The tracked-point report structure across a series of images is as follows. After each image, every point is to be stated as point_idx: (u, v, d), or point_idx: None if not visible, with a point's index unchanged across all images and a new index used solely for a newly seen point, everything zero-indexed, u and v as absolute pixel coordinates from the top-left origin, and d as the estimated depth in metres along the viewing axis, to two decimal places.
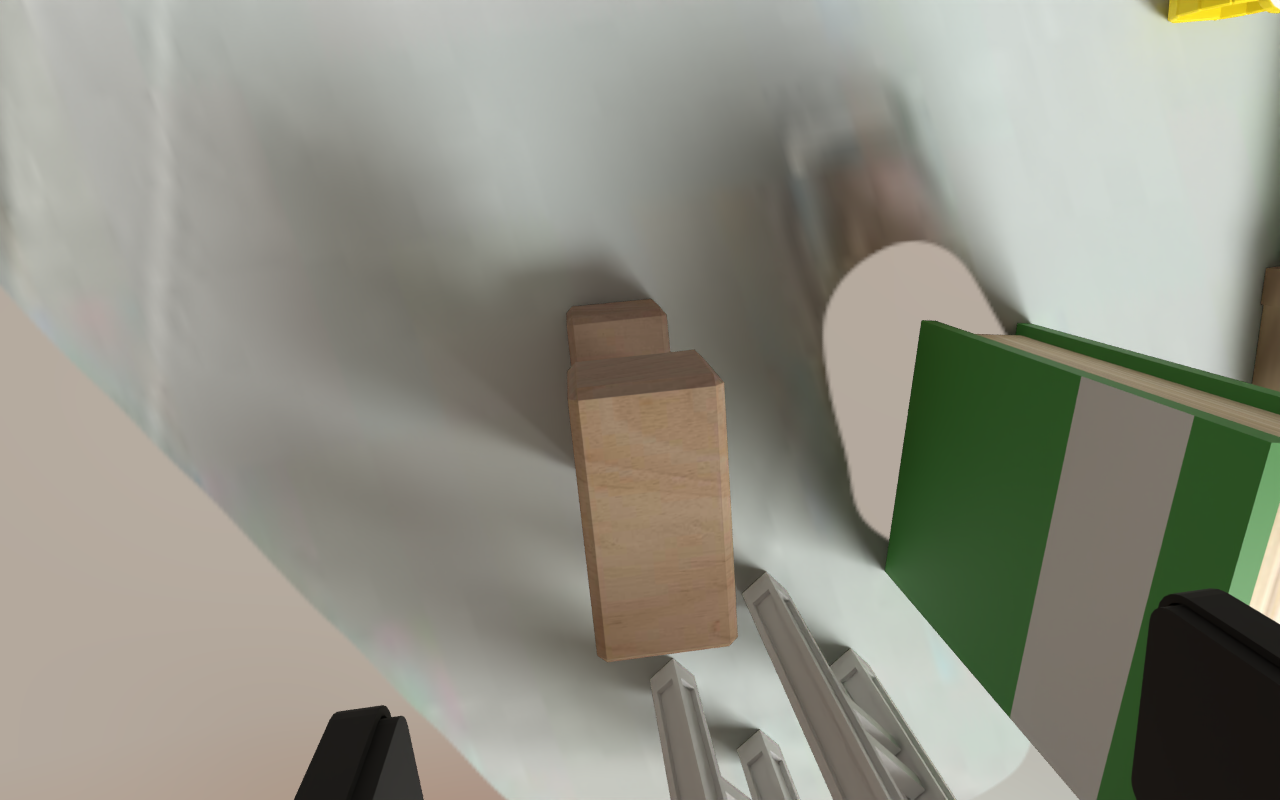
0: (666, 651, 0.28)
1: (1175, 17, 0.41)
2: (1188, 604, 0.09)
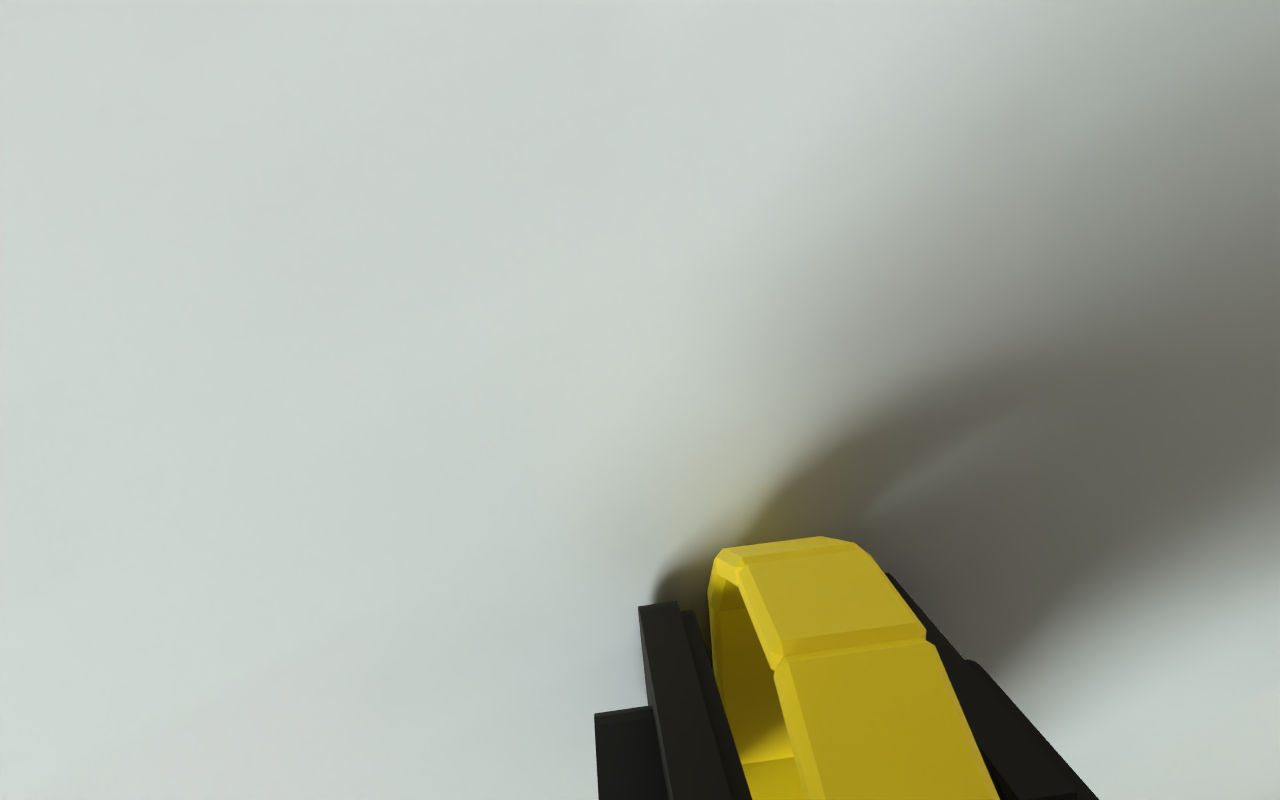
0: None
1: (732, 563, 0.08)
2: None
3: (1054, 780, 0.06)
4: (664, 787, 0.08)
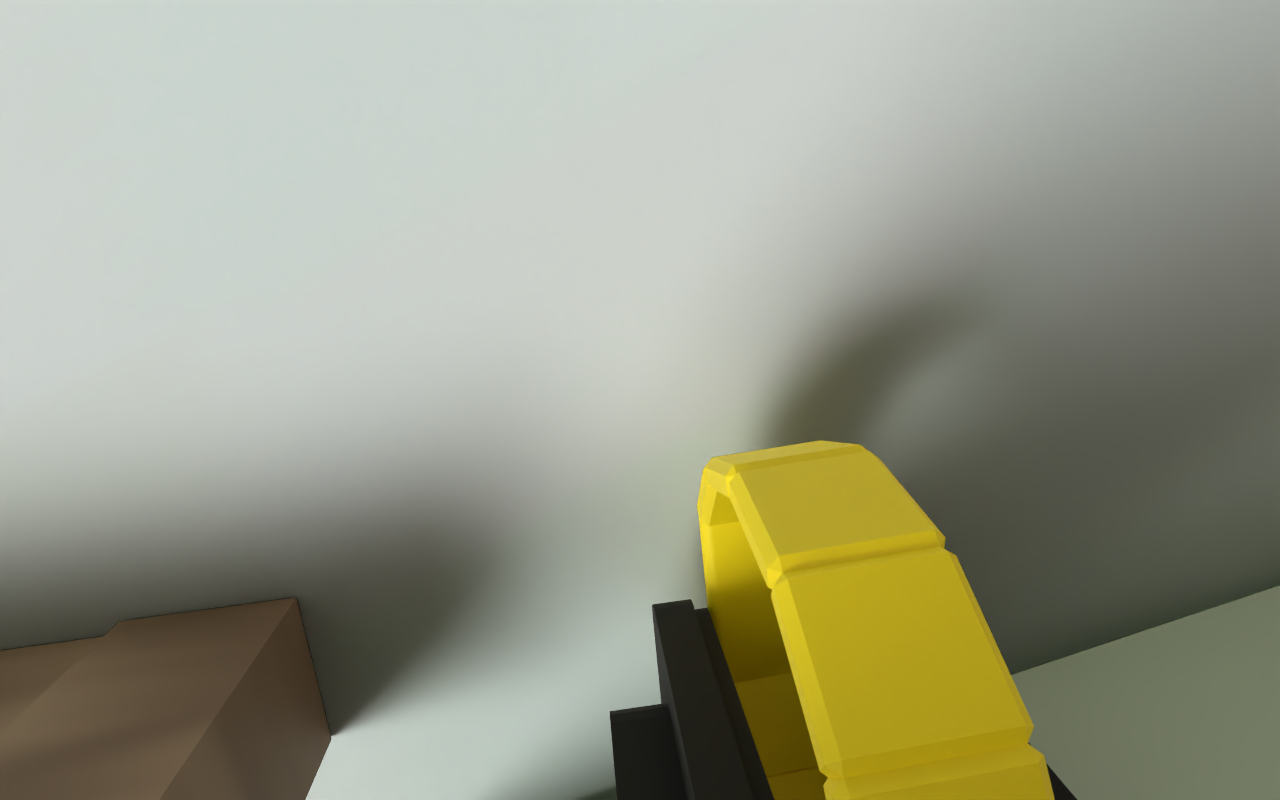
0: None
1: (722, 472, 0.07)
2: None
3: None
4: (682, 785, 0.08)
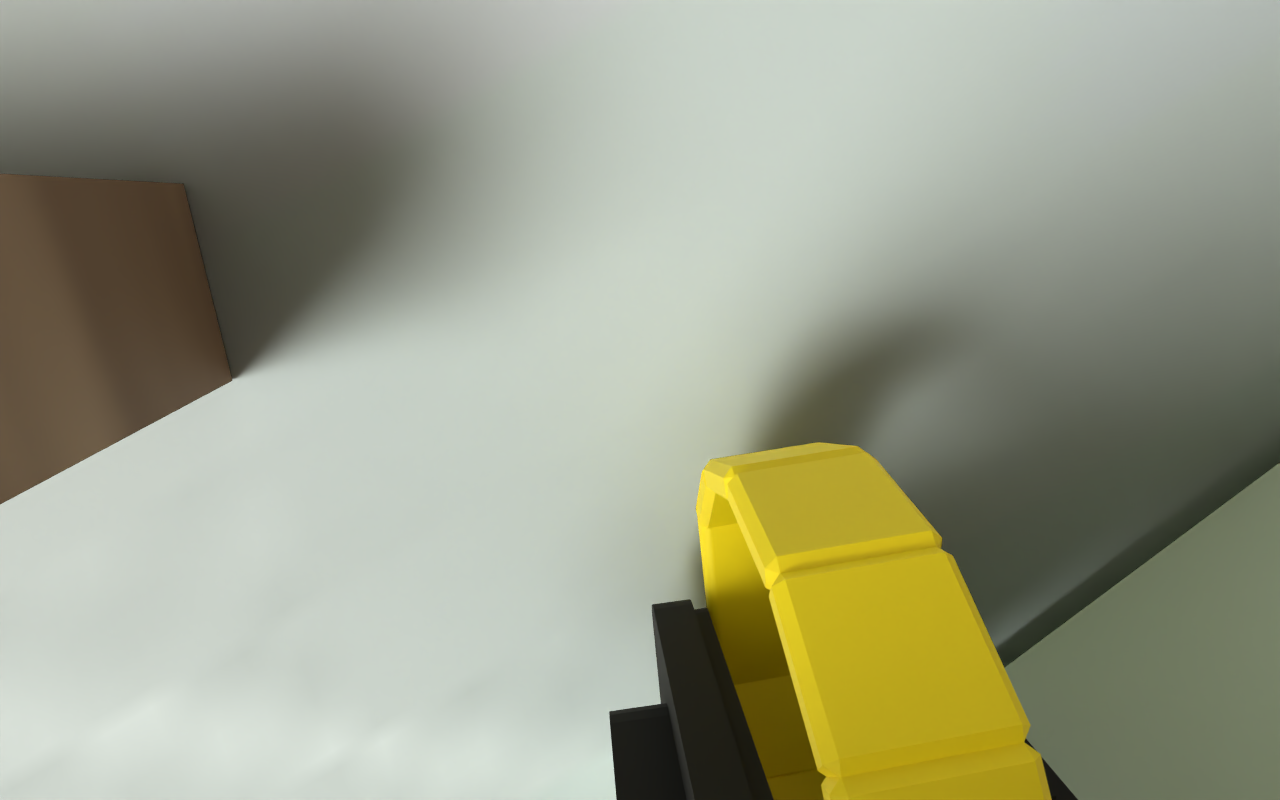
0: None
1: (720, 474, 0.07)
2: None
3: None
4: (682, 785, 0.08)
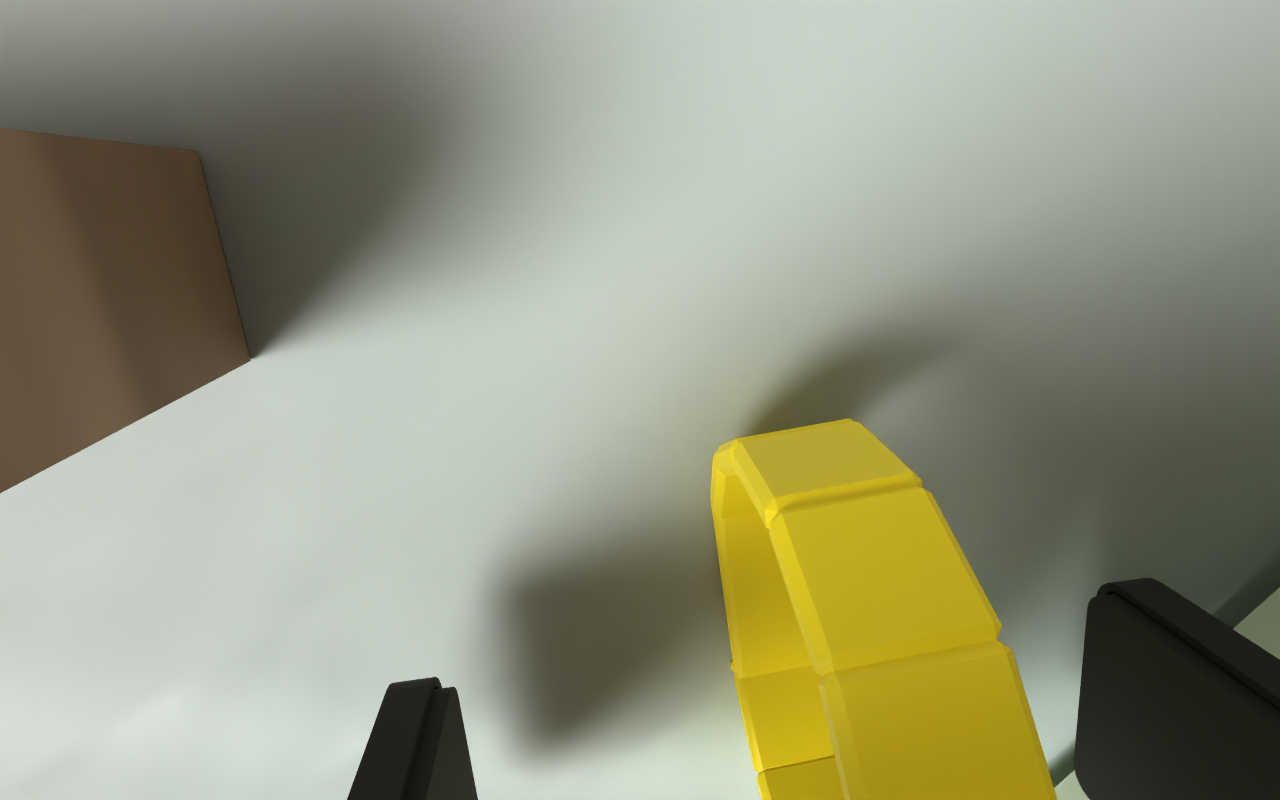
0: None
1: (727, 449, 0.08)
2: (1122, 593, 0.09)
3: None
4: None
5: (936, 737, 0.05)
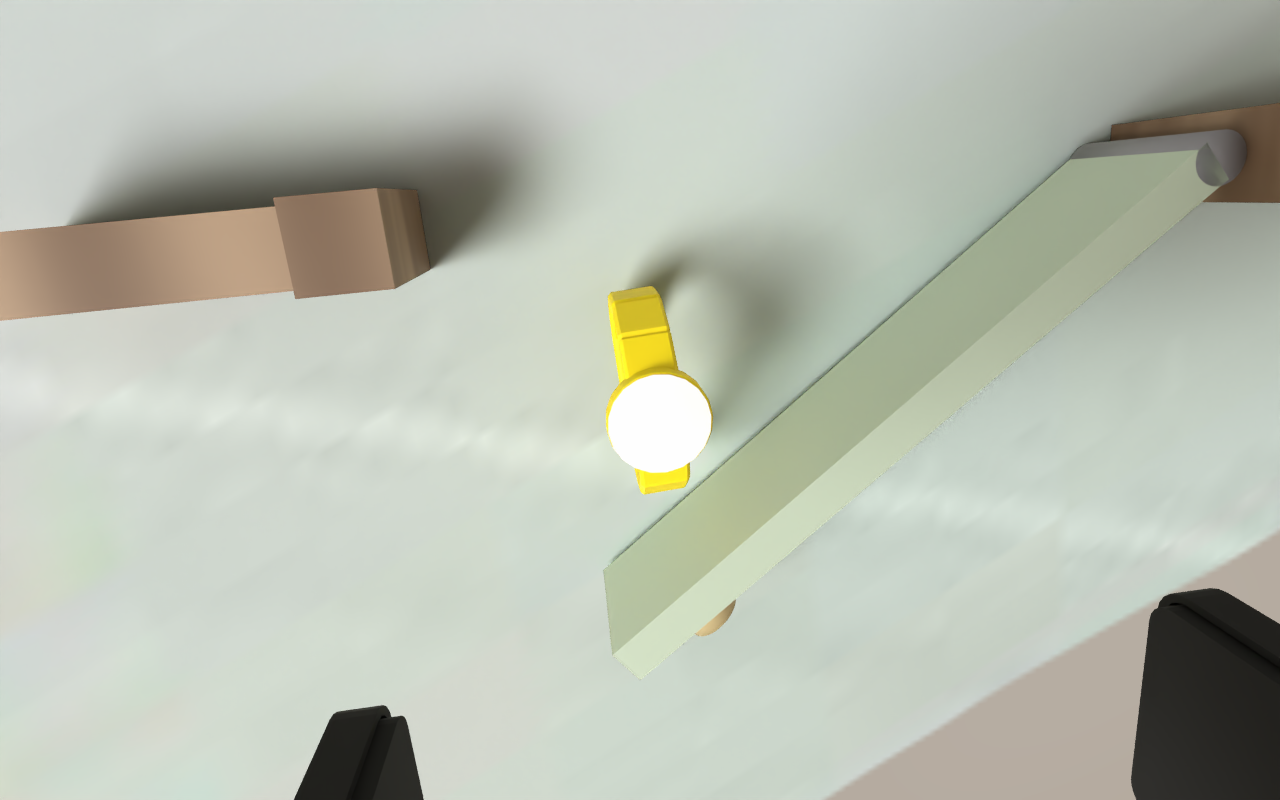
0: None
1: (609, 298, 0.22)
2: (1188, 604, 0.09)
3: None
4: None
5: (646, 351, 0.19)
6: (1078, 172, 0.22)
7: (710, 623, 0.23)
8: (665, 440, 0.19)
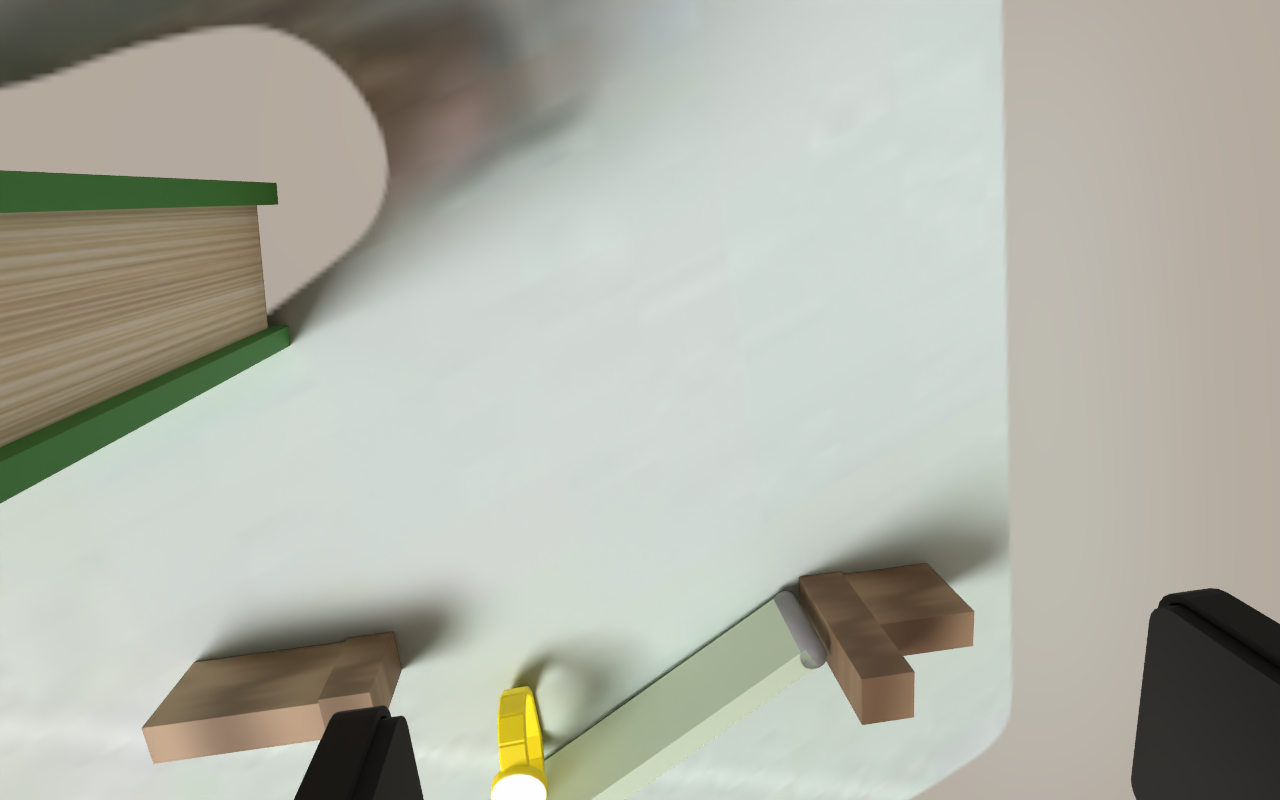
0: None
1: (501, 696, 0.39)
2: (1188, 604, 0.09)
3: None
4: None
5: (512, 755, 0.36)
6: (769, 617, 0.39)
7: None
8: None
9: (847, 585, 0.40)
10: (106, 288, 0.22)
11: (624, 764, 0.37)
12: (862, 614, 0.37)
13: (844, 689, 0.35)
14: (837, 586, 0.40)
